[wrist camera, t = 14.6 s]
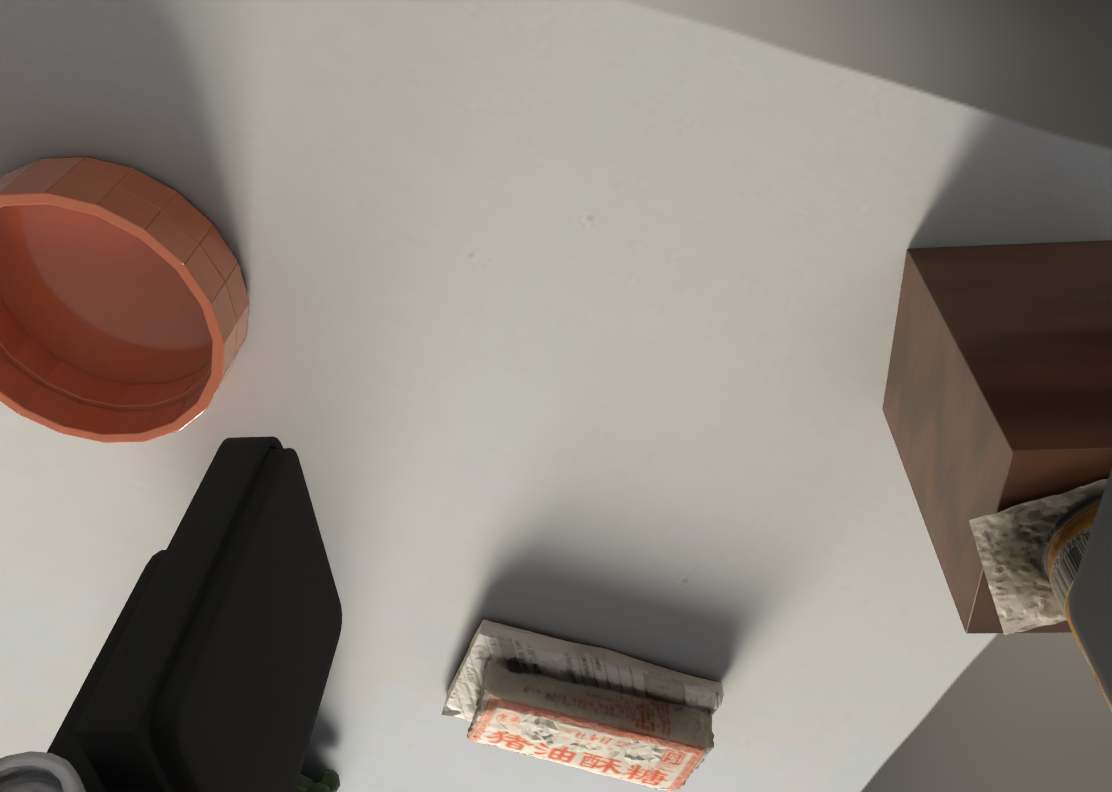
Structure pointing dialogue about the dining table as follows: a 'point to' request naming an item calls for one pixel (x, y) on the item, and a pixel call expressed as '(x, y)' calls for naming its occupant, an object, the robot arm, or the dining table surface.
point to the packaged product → (584, 706)
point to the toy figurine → (319, 782)
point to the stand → (999, 391)
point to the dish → (112, 301)
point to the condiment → (1037, 557)
